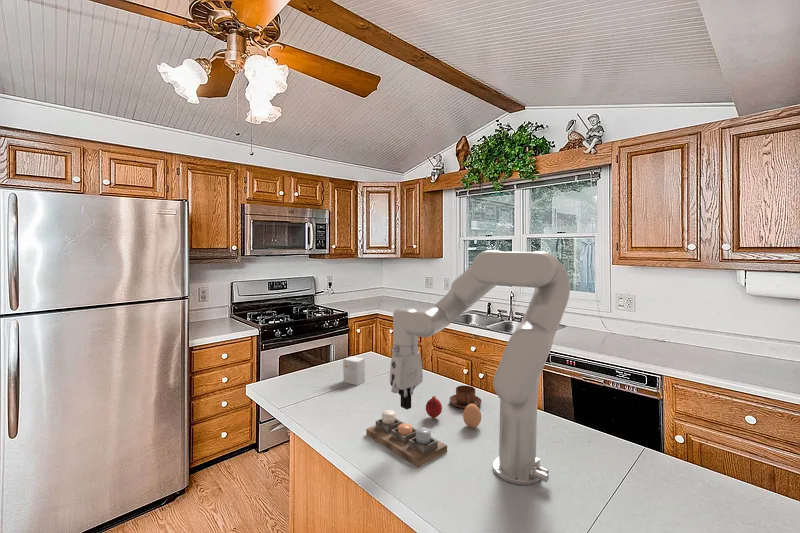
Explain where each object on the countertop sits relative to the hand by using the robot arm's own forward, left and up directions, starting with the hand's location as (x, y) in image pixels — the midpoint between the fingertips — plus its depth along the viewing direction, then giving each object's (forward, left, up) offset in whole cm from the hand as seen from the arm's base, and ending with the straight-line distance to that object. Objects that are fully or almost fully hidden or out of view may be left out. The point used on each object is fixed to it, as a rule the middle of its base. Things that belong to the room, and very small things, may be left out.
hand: (405, 407), depth 119 cm
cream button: (+8, 0, -7) cm, 11 cm away
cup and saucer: (+6, -36, -12) cm, 39 cm away
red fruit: (+6, -19, -11) cm, 23 cm away
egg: (-7, -24, -11) cm, 27 cm away
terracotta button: (0, 0, -9) cm, 9 cm away
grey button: (-8, 0, -7) cm, 11 cm away
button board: (0, 0, -11) cm, 11 cm away
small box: (+54, -18, -11) cm, 58 cm away
